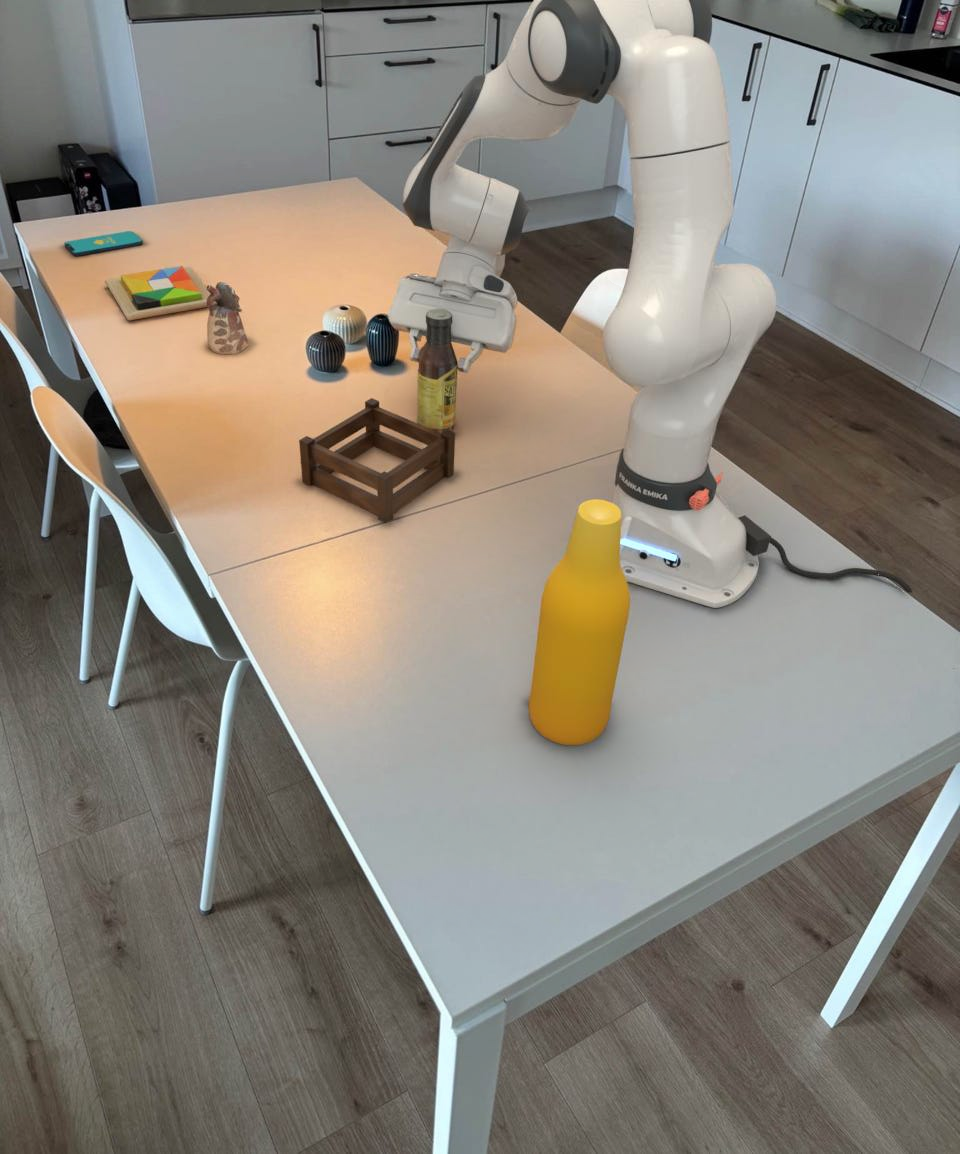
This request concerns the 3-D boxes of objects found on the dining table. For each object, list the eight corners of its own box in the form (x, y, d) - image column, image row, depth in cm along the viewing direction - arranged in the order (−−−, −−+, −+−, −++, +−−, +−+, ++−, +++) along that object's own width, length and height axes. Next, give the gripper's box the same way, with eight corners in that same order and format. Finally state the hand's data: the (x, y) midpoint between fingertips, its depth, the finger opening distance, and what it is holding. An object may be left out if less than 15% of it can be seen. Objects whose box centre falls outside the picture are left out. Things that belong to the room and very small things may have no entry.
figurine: (253, 351, 177) (246, 287, 170) (214, 357, 175) (205, 293, 167) (242, 334, 182) (235, 272, 174) (204, 340, 180) (195, 277, 172)
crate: (453, 474, 149) (455, 432, 145) (386, 523, 139) (385, 479, 134) (372, 438, 156) (371, 397, 151) (302, 482, 146) (298, 440, 141)
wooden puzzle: (130, 324, 183) (126, 307, 181) (104, 287, 195) (101, 270, 193) (220, 308, 190) (218, 291, 188) (190, 273, 203) (187, 256, 200)
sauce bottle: (450, 442, 156) (454, 326, 144) (412, 436, 157) (413, 321, 145) (459, 422, 161) (463, 308, 149) (422, 416, 162) (423, 303, 150)
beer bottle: (529, 747, 108) (554, 539, 90) (526, 686, 115) (548, 482, 97) (612, 749, 108) (654, 542, 90) (603, 689, 115) (641, 486, 97)
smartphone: (143, 240, 213) (74, 252, 205) (144, 244, 213) (74, 256, 206) (131, 230, 217) (63, 241, 210) (132, 233, 218) (63, 245, 210)
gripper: (397, 262, 153) (371, 345, 152) (520, 286, 148) (495, 372, 147) (408, 279, 159) (384, 359, 158) (527, 303, 154) (503, 385, 153)
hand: (438, 366), depth 152 cm, fingers open, 7 cm apart
